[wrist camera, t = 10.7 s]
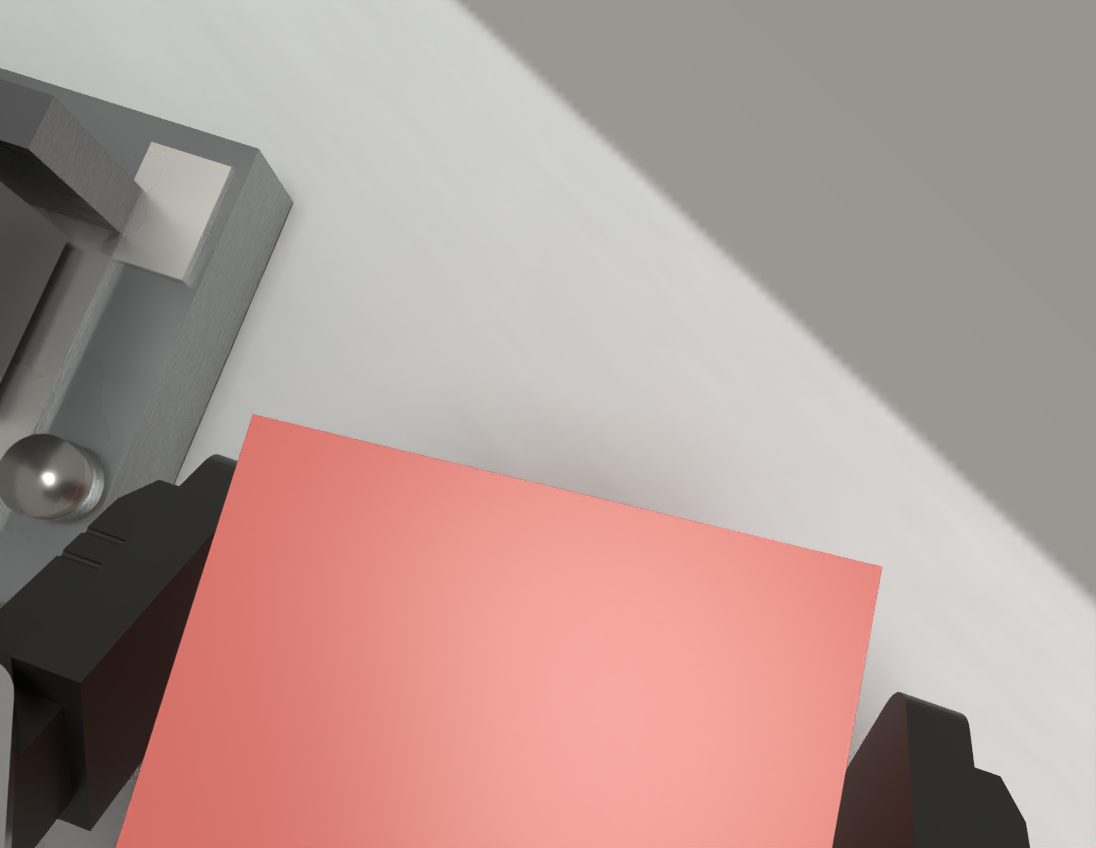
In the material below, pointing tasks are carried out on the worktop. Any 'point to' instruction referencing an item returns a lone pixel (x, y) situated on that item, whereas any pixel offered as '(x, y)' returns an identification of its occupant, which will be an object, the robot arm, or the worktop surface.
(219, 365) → the ball-studded metal plate
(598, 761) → the block
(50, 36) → the worktop surface
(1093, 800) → the worktop surface
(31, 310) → the block
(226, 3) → the worktop surface
